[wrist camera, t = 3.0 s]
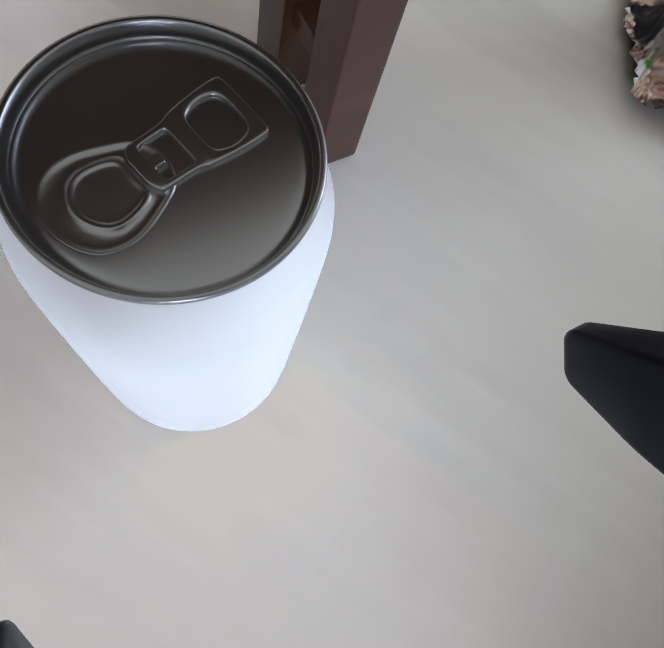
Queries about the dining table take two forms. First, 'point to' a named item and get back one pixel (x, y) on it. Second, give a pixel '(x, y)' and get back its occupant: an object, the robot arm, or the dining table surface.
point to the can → (167, 210)
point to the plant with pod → (647, 49)
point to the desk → (333, 57)
